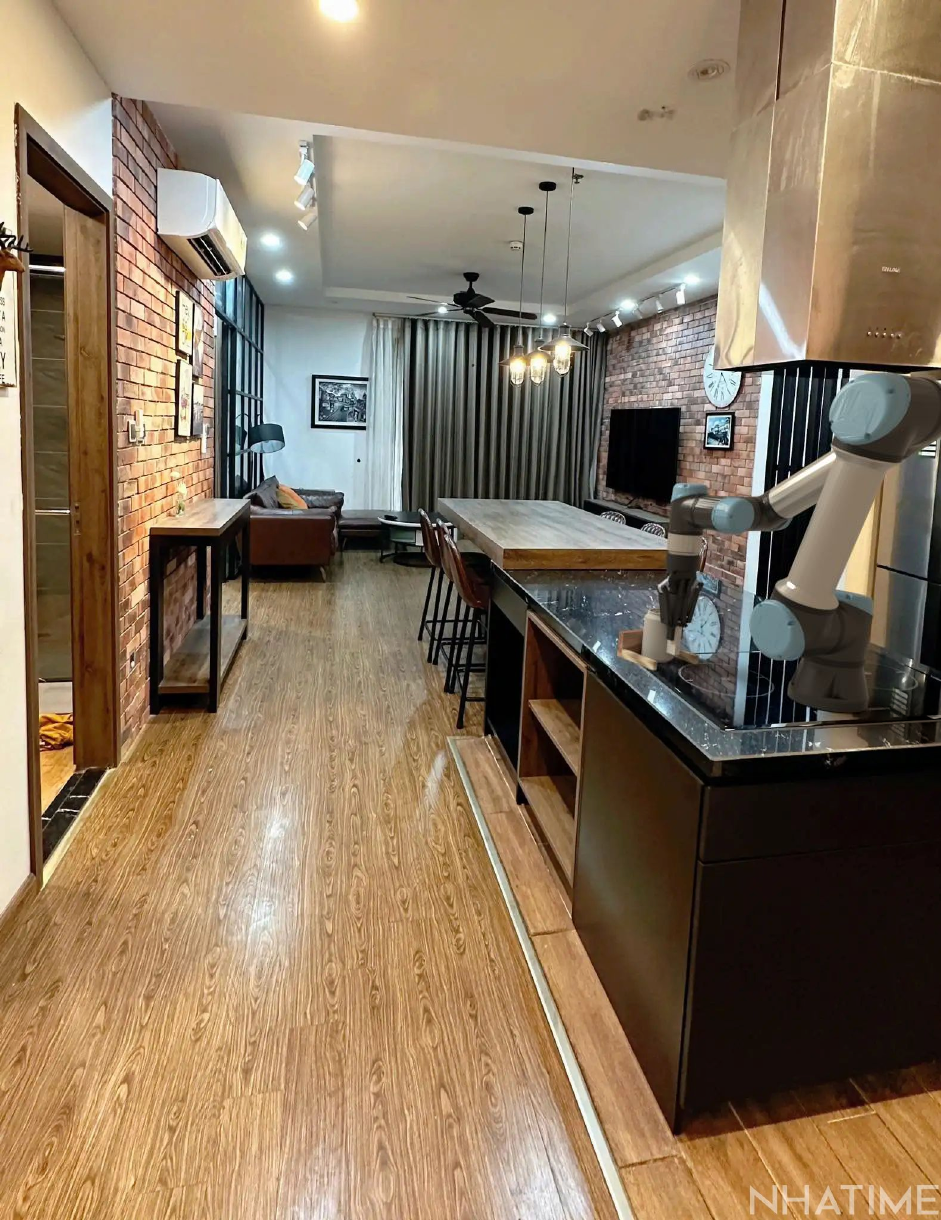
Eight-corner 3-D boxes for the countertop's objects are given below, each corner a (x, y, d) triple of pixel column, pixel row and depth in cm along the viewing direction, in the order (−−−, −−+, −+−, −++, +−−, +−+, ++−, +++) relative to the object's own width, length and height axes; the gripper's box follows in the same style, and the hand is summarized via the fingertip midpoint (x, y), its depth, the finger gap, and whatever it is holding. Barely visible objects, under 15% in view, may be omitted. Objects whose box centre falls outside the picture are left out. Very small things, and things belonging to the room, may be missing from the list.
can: (654, 653, 189) (658, 605, 186) (679, 661, 183) (684, 611, 180) (634, 657, 184) (638, 608, 181) (659, 665, 178) (664, 615, 176)
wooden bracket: (697, 663, 181) (700, 639, 180) (653, 670, 174) (655, 644, 173) (660, 650, 192) (663, 626, 190) (617, 655, 185) (619, 631, 184)
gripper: (692, 549, 179) (681, 646, 185) (650, 551, 173) (640, 652, 178) (716, 554, 173) (705, 654, 178) (673, 556, 167) (663, 660, 172)
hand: (672, 653), depth 178 cm, fingers closed
